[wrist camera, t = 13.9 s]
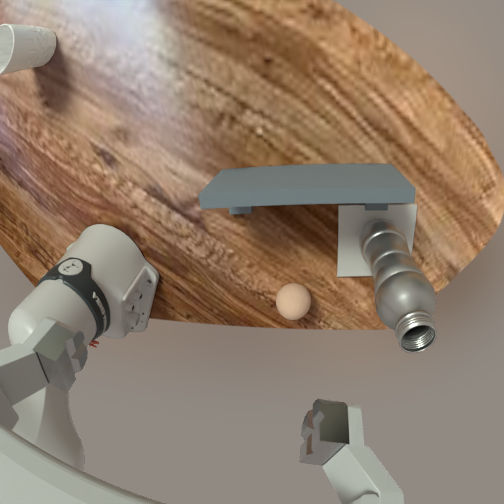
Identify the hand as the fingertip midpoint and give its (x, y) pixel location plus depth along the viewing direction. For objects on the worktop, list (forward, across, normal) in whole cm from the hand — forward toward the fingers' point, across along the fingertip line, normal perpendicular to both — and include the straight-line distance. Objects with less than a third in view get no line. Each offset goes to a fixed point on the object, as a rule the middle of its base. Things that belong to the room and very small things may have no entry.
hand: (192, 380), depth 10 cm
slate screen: (+34, +5, -3) cm, 34 cm away
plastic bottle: (+34, +17, -6) cm, 38 cm away
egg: (+34, +8, -19) cm, 40 cm away
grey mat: (+34, +17, -7) cm, 38 cm away
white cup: (+34, -40, +12) cm, 54 cm away
